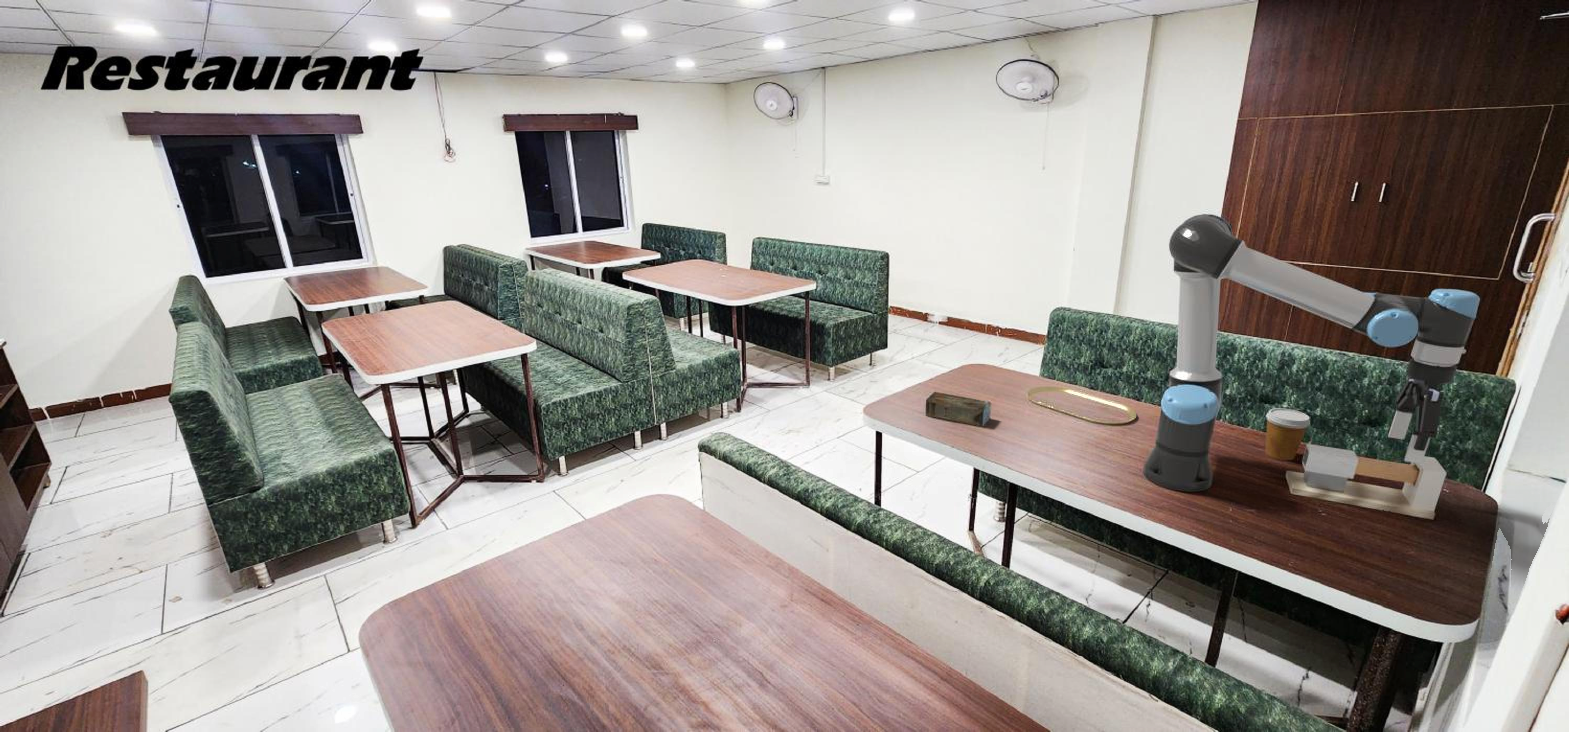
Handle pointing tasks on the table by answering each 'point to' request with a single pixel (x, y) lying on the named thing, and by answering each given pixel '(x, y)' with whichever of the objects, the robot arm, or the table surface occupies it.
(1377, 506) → the bench board
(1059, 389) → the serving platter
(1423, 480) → the socket block
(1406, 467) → the brown wooden bar
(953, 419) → the beverage carton
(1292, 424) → the disposable coffee cup
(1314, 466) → the sleeve
